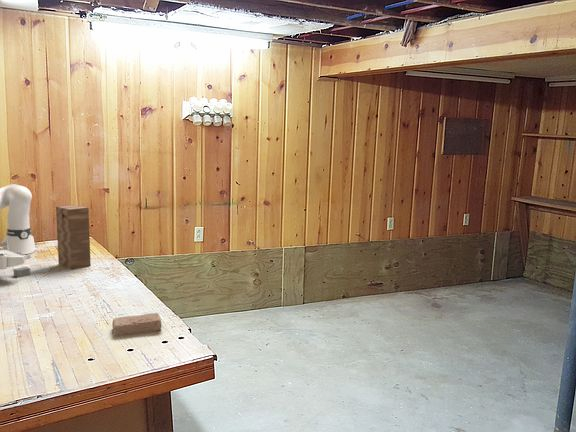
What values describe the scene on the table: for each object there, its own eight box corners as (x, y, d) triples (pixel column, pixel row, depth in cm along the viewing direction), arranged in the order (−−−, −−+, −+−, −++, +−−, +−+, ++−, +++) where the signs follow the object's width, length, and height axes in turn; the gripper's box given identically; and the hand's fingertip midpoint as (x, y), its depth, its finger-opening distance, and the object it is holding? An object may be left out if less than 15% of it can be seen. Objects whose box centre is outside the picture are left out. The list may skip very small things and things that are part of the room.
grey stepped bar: (17, 277, 248) (17, 270, 248) (13, 276, 251) (13, 269, 250) (50, 271, 261) (50, 264, 260) (46, 270, 263) (46, 263, 263)
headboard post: (58, 264, 273) (56, 206, 268) (76, 261, 281) (74, 204, 276) (72, 269, 265) (70, 209, 260) (90, 265, 272) (88, 207, 268)
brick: (113, 337, 181) (113, 324, 180) (112, 328, 188) (111, 316, 187) (162, 331, 187) (162, 319, 186) (158, 323, 194) (158, 311, 194)
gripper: (-14, 262, 248) (15, 257, 259) (5, 270, 235) (35, 264, 246) (-15, 249, 247) (15, 245, 258) (4, 256, 234) (34, 251, 245)
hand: (25, 254), depth 252 cm, fingers open, 8 cm apart
